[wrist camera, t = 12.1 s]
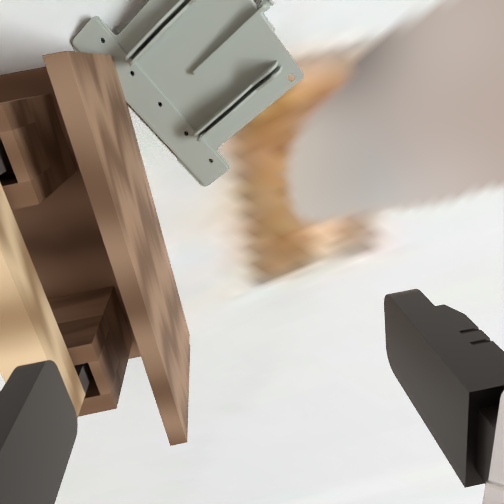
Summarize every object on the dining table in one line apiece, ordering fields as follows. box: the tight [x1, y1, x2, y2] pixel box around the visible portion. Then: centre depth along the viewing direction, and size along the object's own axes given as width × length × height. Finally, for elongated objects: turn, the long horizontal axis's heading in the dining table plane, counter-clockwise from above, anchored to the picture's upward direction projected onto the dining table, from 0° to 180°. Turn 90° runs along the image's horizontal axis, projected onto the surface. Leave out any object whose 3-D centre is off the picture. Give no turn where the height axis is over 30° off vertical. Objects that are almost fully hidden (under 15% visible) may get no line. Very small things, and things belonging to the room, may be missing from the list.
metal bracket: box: [72, 0, 304, 186], centre depth 35 cm, size 14×6×15 cm
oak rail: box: [0, 140, 92, 418], centre depth 30 cm, size 18×3×8 cm, turn 10°
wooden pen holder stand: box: [0, 51, 190, 446], centre depth 34 cm, size 26×12×14 cm, turn 10°
